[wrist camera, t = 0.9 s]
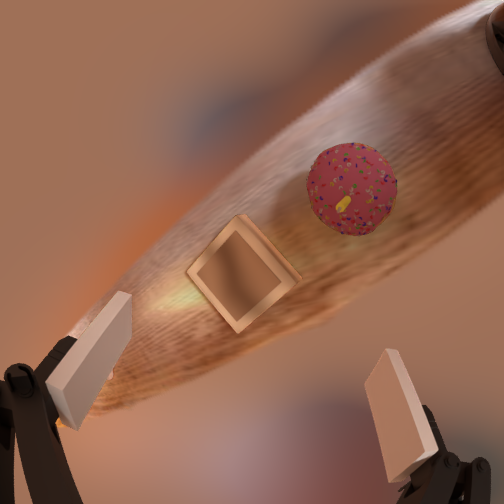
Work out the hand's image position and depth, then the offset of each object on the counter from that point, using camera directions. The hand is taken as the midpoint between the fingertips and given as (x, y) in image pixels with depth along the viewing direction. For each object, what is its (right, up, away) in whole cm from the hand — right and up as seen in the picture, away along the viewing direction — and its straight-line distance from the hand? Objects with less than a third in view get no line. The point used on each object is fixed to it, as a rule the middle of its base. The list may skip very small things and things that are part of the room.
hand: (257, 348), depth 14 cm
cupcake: (+11, +11, +16) cm, 22 cm away
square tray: (-1, +2, +23) cm, 23 cm away
